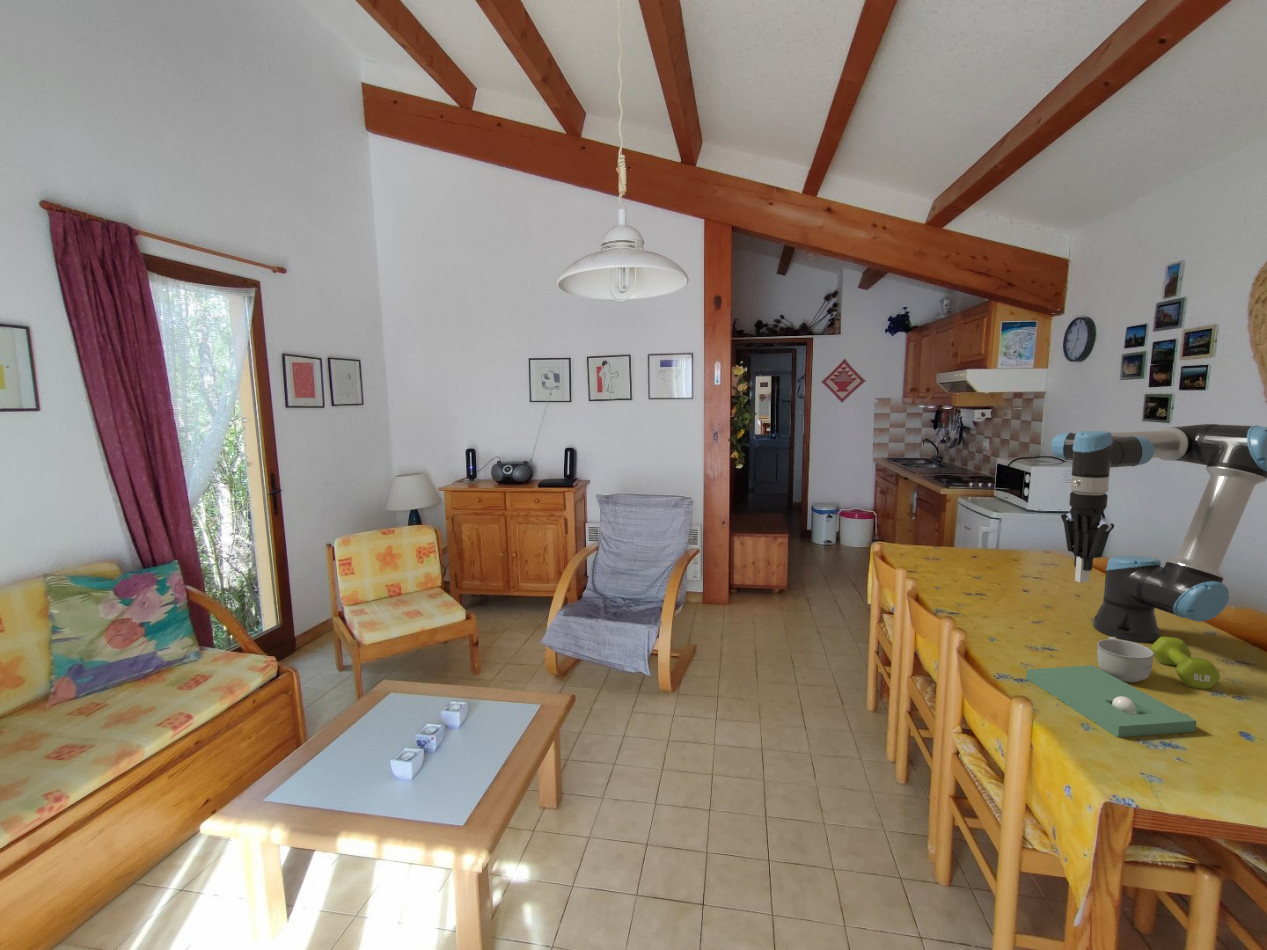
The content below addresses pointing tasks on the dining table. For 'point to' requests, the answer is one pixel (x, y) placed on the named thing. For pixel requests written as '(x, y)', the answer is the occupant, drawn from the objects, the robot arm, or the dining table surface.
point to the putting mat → (1110, 701)
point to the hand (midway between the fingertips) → (1082, 581)
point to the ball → (1124, 704)
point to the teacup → (1124, 659)
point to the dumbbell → (1185, 663)
